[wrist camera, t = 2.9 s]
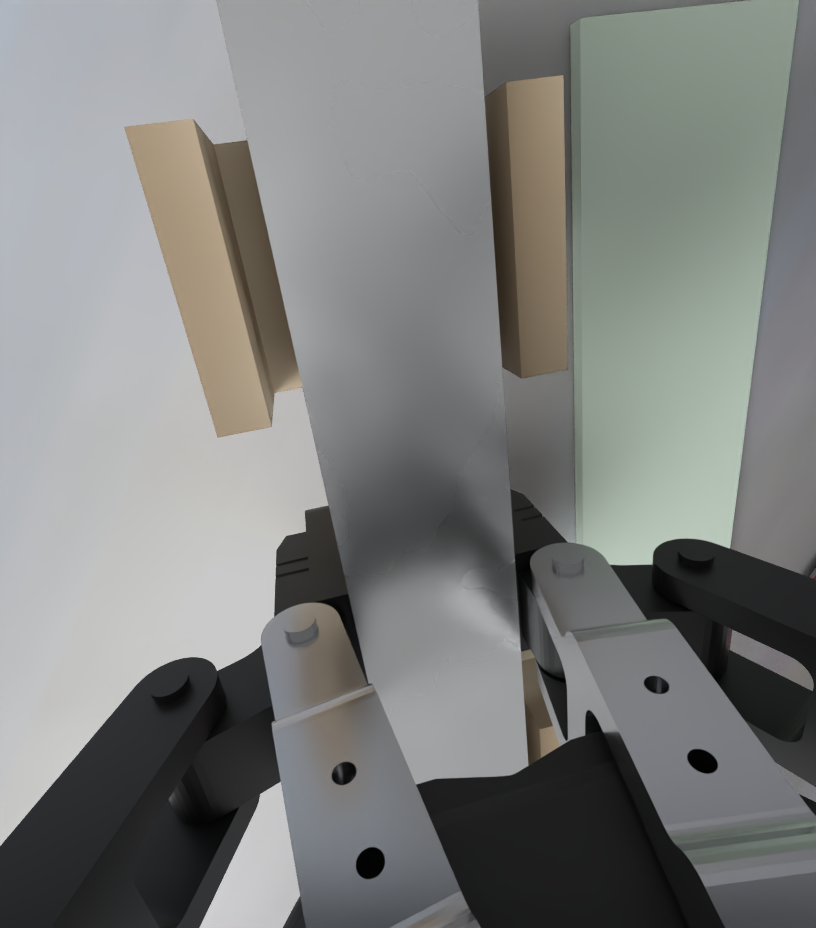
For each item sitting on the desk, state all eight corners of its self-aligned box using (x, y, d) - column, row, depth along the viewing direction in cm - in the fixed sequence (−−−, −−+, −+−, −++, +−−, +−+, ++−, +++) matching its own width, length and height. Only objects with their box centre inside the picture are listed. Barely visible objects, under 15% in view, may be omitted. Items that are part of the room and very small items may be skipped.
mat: (783, 3, 17) (800, -5, 16) (714, 586, 26) (724, 594, 25) (570, 25, 16) (580, 17, 15) (576, 622, 25) (583, 631, 24)
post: (410, 165, 16) (562, 75, 7) (425, 302, 18) (567, 369, 9) (219, 191, 15) (124, 127, 6) (254, 332, 17) (218, 437, 8)
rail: (225, 12, 8) (194, -97, 5) (413, -6, 8) (469, -115, 6) (406, 841, 16) (429, 958, 13) (499, 813, 16) (538, 922, 13)
